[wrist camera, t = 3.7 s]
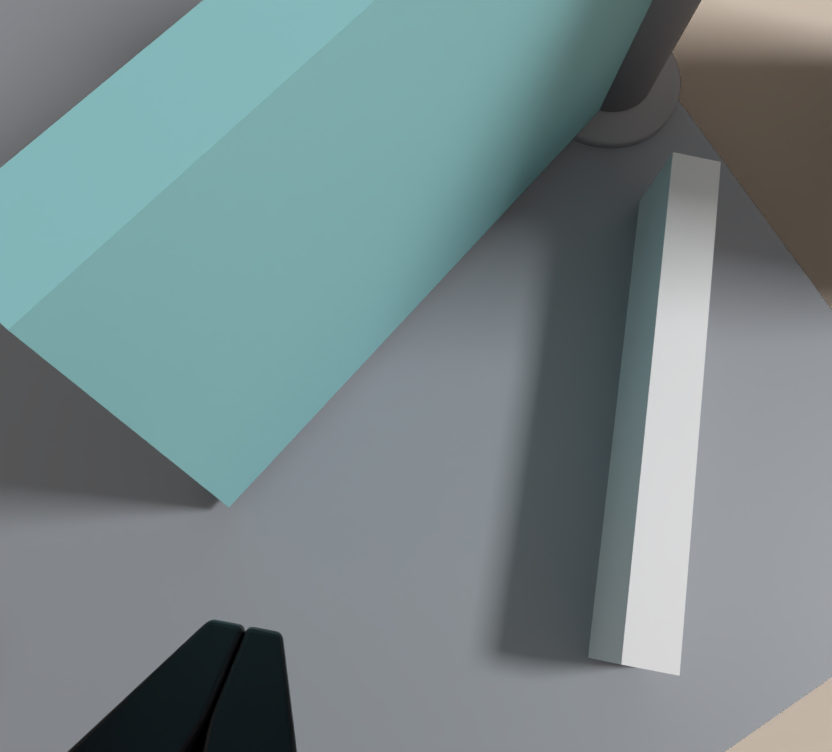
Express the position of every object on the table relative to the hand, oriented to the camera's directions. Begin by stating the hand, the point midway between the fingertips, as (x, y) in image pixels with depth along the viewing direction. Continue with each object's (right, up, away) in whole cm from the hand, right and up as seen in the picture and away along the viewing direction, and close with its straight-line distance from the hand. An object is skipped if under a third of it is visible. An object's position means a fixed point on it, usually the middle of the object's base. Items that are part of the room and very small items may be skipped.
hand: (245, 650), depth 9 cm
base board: (0, +5, +9) cm, 10 cm away
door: (+2, +6, +8) cm, 10 cm away
